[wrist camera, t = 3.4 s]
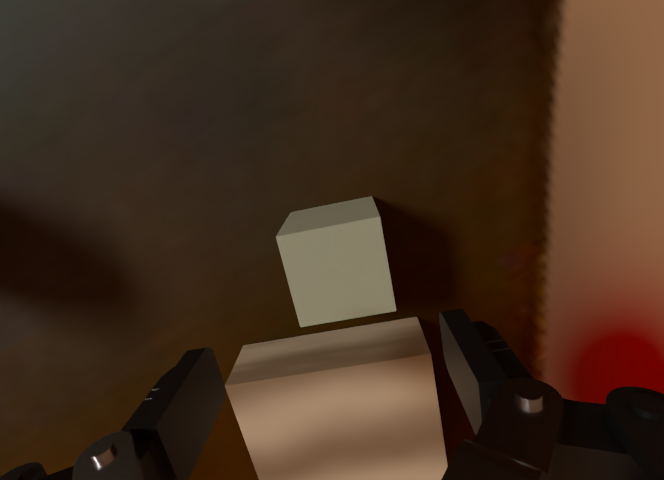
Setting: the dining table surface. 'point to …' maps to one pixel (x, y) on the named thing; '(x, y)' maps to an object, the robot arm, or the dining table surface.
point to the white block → (336, 262)
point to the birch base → (341, 405)
